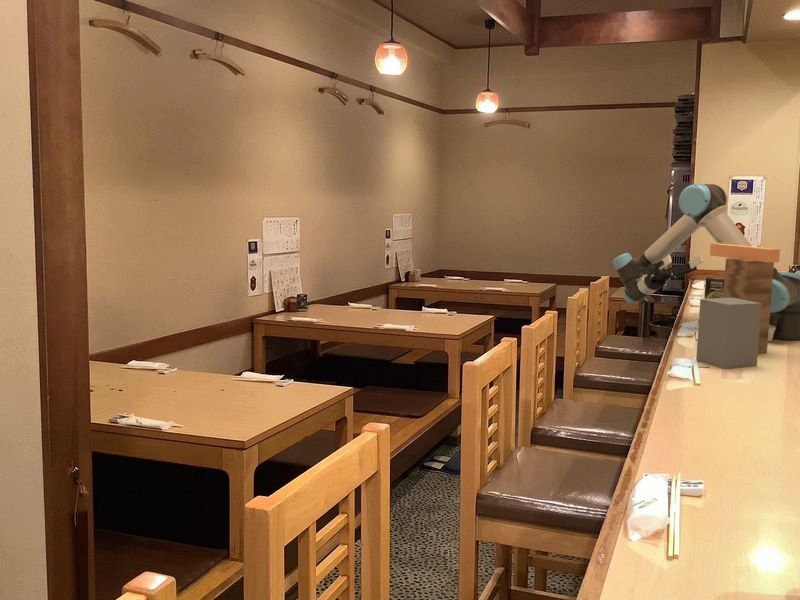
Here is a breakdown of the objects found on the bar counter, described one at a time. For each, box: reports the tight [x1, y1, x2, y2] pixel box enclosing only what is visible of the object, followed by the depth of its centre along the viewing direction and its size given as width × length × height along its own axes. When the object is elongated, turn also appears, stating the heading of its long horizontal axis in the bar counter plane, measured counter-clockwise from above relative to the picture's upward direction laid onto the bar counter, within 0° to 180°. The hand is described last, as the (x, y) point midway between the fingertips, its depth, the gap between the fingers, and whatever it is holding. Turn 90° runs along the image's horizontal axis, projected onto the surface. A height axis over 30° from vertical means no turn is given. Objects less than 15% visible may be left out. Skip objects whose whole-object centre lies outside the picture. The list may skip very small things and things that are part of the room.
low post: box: [695, 298, 762, 370], centre depth 232 cm, size 12×12×19 cm
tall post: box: [723, 257, 775, 355], centre depth 249 cm, size 10×10×30 cm
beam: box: [709, 242, 781, 263], centre depth 250 cm, size 26×4×4 cm, turn 19°
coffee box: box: [703, 276, 725, 299], centre depth 319 cm, size 9×6×16 cm
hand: (686, 258), depth 275 cm, fingers open, 13 cm apart
